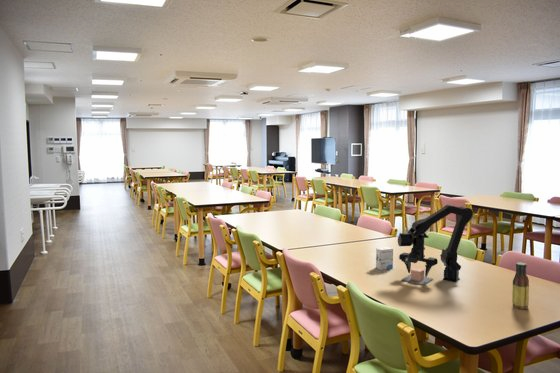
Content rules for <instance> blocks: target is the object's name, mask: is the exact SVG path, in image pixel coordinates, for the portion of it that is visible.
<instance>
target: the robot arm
mask: <svg viewBox="0 0 560 373" xmlns="http://www.w3.org/2000/svg"><path fill="white" fill-rule="evenodd" d="M450 214H454V215H455V224H454V228H453V230H452V234H451V236H450V239H449V242H448V244H447V247H446V248H445V249H442V250H441V254H440V255H439V256H440V261H441V262H442V263H443V265H444V269H443V278H442V280H445V281H449V282H457V281H459V280H460V277H459V276H460V275H459V274H460V270H461V269H462V265H460V263H458V261H457V260H458V249H459V245H460V244H461V240H462V236H463V233H464V231H465V228H466V225H467V224H468V223H469V222H471V219H472V217H473V215H474V212H473V210H472V208H470V207H467V206H464V205H461V206H456V205H451V204H446V205H444V207H442V208H440V209H438V210H436V211H435V212H434V213H432V214H430V215H429V216H427V217H425V218H422V219H419V220H416V221H414V222H412V223H411V224H412V225H411V227H410V228H409V230H408V231H407V232H405V233H404V232H402V233H401V232H400V233H399V235H398V236H397V245H398V247H411V246H412V247H411V249H410V250H411V251H410V252H402V253H400V254H399V256H398V259H399V260H401V262H402V263H404V264H405V266H406V269H407V272H408V274H411V270H412V269H411V267H412V264H417V263H418V262H423V263H425V264H424V266H425V270H424V277H428V275H429V273H430V271H431V269H432V267H434V266H436V265H437V264H438V258H436V257H432V256H431V257H430V256H429V257H428V258H426V255H425V250H426V246H425V239H428V238H429V237H430V236H428V235H427V233H426V232H427V231H428V230H430V228H431V227H432V225H435V224H436V223H437V222H439V221H441V220H443V219H444V218H446V217H447V216H449V215H450Z"/></svg>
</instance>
